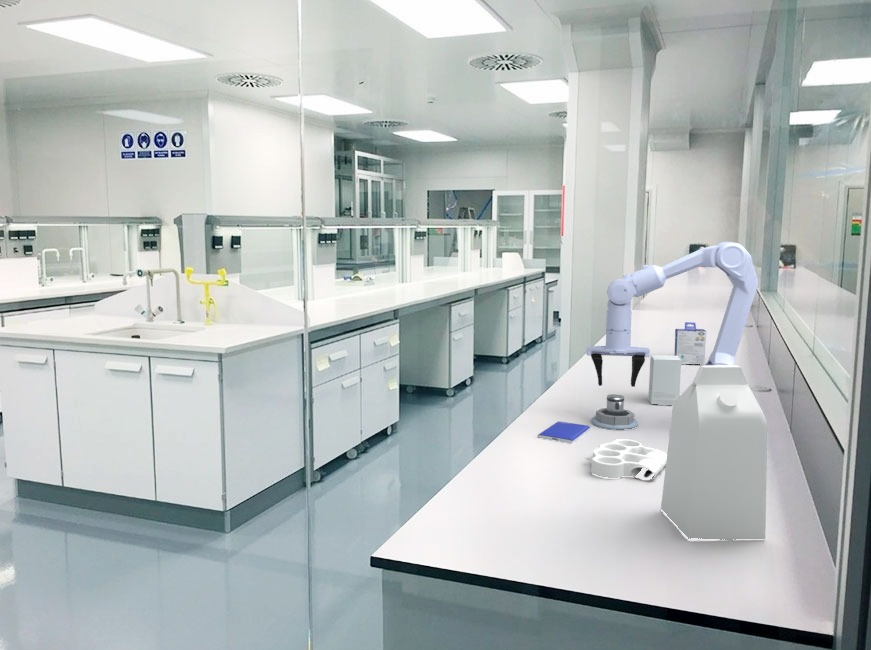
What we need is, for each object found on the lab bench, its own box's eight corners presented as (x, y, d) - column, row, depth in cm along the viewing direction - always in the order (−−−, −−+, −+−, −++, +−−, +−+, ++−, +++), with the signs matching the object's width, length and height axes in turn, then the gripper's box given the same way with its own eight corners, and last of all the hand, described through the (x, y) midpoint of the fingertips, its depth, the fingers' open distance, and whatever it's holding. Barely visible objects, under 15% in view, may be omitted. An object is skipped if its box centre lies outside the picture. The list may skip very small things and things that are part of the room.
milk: (730, 510, 118) (740, 359, 114) (765, 540, 107) (777, 373, 103) (660, 511, 117) (668, 359, 114) (688, 541, 106) (697, 374, 102)
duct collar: (645, 429, 165) (646, 418, 165) (600, 430, 164) (601, 419, 163) (627, 417, 176) (628, 406, 175) (585, 418, 175) (585, 407, 174)
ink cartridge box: (701, 362, 248) (704, 322, 246) (705, 365, 242) (707, 324, 240) (672, 361, 249) (675, 321, 247) (675, 364, 244) (677, 323, 242)
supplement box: (679, 406, 187) (681, 360, 185) (650, 405, 188) (652, 358, 186) (675, 400, 194) (678, 355, 192) (647, 398, 195) (650, 354, 193)
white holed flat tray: (649, 489, 128) (573, 474, 136) (673, 462, 143) (603, 450, 151) (650, 472, 128) (574, 458, 135) (673, 446, 143) (604, 435, 150)
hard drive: (557, 420, 169) (537, 433, 158) (590, 425, 164) (572, 439, 154) (557, 427, 169) (537, 440, 158) (589, 432, 165) (572, 446, 154)
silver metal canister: (621, 418, 172) (622, 394, 171) (625, 423, 167) (626, 399, 166) (604, 417, 172) (605, 394, 171) (608, 423, 167) (609, 398, 166)
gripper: (588, 331, 164) (586, 387, 166) (652, 332, 162) (650, 390, 163) (586, 327, 171) (585, 381, 173) (648, 328, 169) (645, 383, 170)
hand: (616, 385), depth 168 cm, fingers open, 7 cm apart
